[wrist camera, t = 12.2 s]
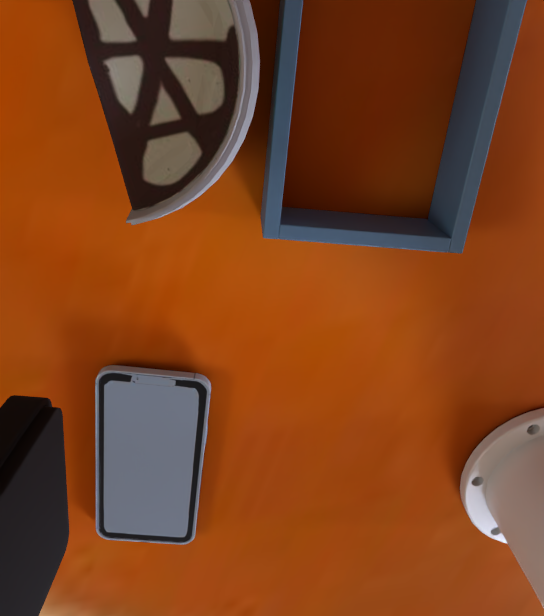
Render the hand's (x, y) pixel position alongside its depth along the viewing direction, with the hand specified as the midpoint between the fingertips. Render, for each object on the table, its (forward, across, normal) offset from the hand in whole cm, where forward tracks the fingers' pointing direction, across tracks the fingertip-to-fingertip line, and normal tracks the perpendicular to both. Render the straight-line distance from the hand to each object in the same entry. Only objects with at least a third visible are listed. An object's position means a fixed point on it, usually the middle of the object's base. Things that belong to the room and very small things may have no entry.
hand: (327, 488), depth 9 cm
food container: (+23, +5, -8) cm, 24 cm away
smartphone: (+23, +7, +18) cm, 30 cm away
